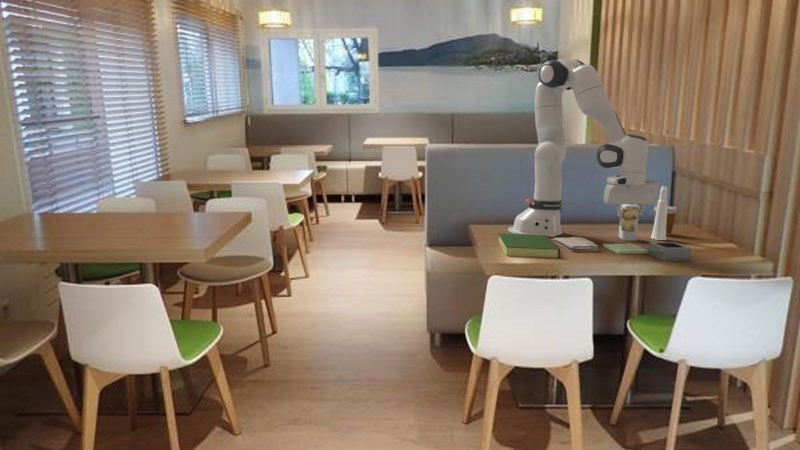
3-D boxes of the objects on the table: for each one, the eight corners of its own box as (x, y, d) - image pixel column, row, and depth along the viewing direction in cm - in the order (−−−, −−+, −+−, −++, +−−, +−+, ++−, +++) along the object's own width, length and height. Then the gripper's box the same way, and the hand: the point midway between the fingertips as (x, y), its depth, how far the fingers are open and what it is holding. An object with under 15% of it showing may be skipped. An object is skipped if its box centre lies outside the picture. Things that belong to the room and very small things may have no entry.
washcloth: (571, 253, 218) (572, 245, 217) (550, 243, 235) (551, 235, 235) (601, 253, 220) (602, 245, 220) (578, 242, 238) (579, 235, 237)
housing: (663, 260, 208) (664, 248, 208) (647, 254, 218) (649, 242, 217) (689, 260, 210) (691, 248, 209) (673, 254, 220) (674, 242, 219)
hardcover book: (559, 259, 209) (560, 248, 208) (505, 257, 210) (506, 246, 209) (545, 244, 234) (546, 234, 233) (497, 242, 234) (498, 232, 234)
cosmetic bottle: (654, 240, 243) (660, 187, 239) (648, 237, 249) (653, 185, 245) (669, 241, 243) (675, 187, 239) (662, 237, 249) (668, 185, 245)
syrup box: (636, 241, 242) (640, 205, 239) (622, 240, 241) (625, 205, 239) (631, 238, 247) (634, 203, 245) (617, 237, 247) (620, 203, 244)
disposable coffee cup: (677, 237, 252) (680, 209, 250) (653, 235, 253) (656, 208, 251) (671, 232, 261) (674, 206, 259) (648, 231, 262) (651, 204, 260)
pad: (618, 253, 218) (618, 251, 217) (603, 246, 229) (603, 243, 229) (648, 253, 219) (649, 250, 219) (632, 246, 231) (632, 243, 231)
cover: (624, 231, 219) (626, 210, 218) (616, 228, 225) (618, 208, 224) (639, 231, 220) (641, 210, 219) (631, 228, 226) (633, 208, 225)
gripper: (654, 178, 224) (650, 214, 226) (602, 178, 221) (600, 214, 223) (663, 180, 218) (659, 217, 220) (611, 180, 215) (608, 217, 217)
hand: (629, 216), depth 222 cm, fingers closed on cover, 6 cm apart
